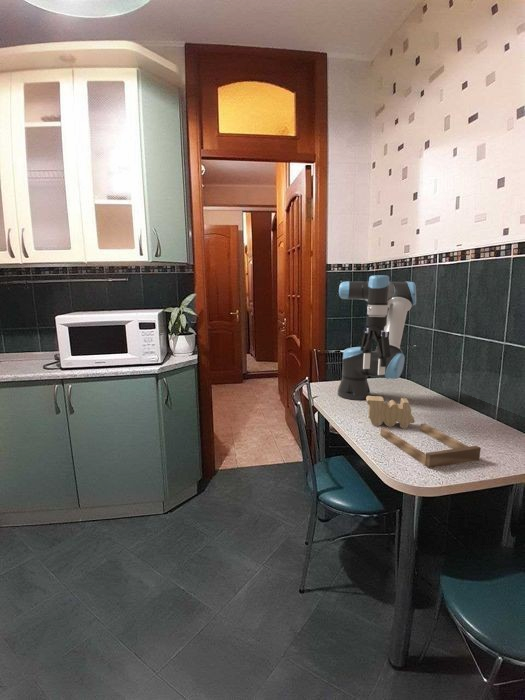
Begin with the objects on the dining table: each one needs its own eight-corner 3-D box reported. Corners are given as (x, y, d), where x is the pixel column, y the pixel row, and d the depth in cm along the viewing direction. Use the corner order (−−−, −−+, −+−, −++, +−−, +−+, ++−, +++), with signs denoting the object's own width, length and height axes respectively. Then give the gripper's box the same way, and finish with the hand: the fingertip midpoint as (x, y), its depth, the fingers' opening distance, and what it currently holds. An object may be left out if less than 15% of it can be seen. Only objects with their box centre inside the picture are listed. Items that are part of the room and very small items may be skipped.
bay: (380, 435, 122) (380, 424, 121) (423, 429, 126) (424, 419, 126) (428, 468, 99) (429, 455, 99) (479, 460, 104) (480, 447, 103)
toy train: (414, 429, 127) (416, 403, 125) (365, 425, 131) (367, 399, 129) (411, 423, 132) (413, 398, 131) (364, 419, 136) (366, 395, 134)
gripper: (353, 313, 146) (350, 366, 149) (385, 318, 124) (381, 379, 128) (369, 313, 148) (366, 365, 151) (403, 318, 126) (399, 377, 130)
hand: (373, 371), depth 140 cm, fingers open, 10 cm apart
